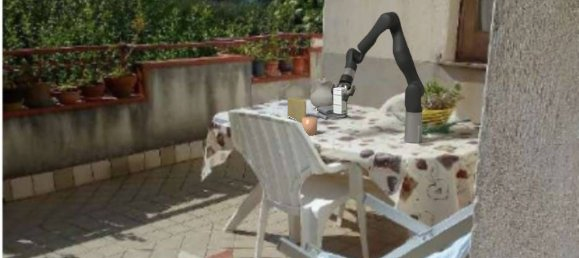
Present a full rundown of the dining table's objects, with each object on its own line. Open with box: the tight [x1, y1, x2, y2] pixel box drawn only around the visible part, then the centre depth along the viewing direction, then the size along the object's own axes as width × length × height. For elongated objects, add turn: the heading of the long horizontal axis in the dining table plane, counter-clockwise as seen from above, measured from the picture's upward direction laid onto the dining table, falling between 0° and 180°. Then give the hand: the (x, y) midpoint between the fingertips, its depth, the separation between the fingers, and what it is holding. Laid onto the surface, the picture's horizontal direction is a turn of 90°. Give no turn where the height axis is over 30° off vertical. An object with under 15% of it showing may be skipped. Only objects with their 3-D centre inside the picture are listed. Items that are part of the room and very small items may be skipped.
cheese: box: [286, 96, 307, 123], centre depth 387 cm, size 22×10×15 cm, turn 19°
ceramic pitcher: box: [309, 75, 334, 109], centre depth 429 cm, size 22×20×25 cm
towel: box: [316, 105, 349, 120], centre depth 399 cm, size 15×18×8 cm
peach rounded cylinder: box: [301, 116, 318, 137], centre depth 344 cm, size 9×9×10 cm
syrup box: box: [333, 87, 348, 114], centre depth 328 cm, size 6×6×14 cm
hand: (339, 100), depth 327 cm, fingers closed on syrup box, 7 cm apart
